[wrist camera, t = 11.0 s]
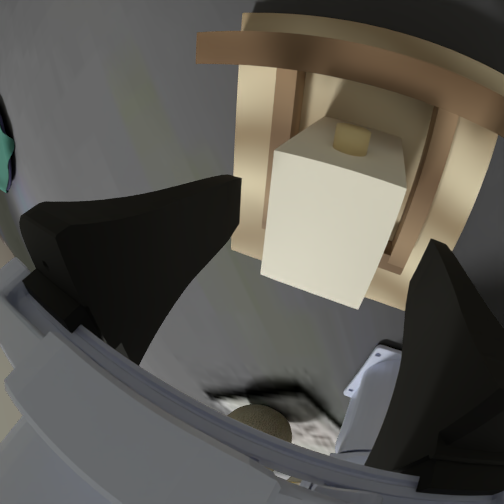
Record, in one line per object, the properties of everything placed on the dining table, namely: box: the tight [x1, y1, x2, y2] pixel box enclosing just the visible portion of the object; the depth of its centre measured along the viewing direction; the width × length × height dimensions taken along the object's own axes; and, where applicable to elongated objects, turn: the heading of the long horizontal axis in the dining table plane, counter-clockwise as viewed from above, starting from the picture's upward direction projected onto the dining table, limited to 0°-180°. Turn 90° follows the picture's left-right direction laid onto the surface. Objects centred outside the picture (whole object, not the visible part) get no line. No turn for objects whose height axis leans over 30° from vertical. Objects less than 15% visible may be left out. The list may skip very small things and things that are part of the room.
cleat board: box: [196, 13, 504, 311], centre depth 13 cm, size 16×14×5 cm
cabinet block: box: [261, 116, 407, 309], centre depth 12 cm, size 6×4×7 cm
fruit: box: [227, 404, 292, 472], centre depth 33 cm, size 10×12×15 cm
